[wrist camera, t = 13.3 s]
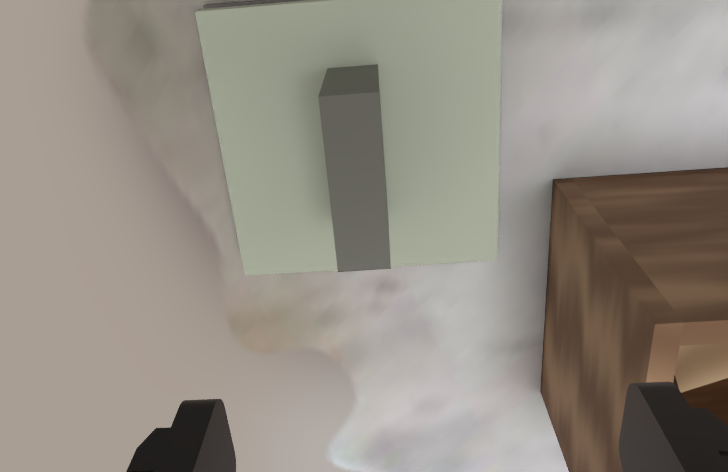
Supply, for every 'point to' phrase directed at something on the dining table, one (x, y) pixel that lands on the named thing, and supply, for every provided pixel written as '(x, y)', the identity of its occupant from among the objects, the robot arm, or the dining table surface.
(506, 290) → the dining table surface
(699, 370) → the block
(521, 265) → the dining table surface
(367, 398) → the dining table surface
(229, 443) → the robot arm
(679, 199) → the box
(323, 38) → the lid
